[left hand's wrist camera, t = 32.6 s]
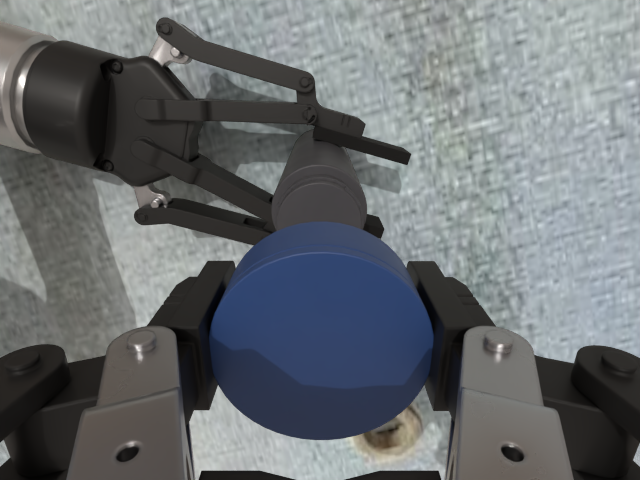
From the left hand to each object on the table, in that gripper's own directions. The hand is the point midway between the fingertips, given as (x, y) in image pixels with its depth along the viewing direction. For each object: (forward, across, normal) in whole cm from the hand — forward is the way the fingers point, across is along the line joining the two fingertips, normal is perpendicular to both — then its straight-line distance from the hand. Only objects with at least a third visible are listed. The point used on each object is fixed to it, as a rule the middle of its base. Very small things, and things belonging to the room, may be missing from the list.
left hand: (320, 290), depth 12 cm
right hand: (+17, -5, +1) cm, 18 cm away
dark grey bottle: (+24, 0, 0) cm, 24 cm away
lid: (-3, 0, 0) cm, 3 cm away
